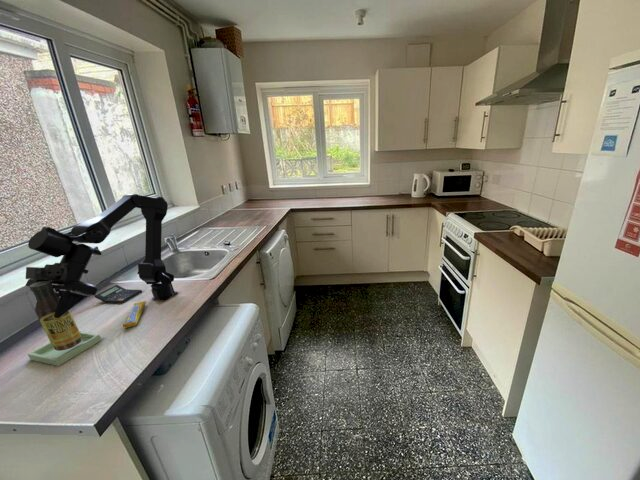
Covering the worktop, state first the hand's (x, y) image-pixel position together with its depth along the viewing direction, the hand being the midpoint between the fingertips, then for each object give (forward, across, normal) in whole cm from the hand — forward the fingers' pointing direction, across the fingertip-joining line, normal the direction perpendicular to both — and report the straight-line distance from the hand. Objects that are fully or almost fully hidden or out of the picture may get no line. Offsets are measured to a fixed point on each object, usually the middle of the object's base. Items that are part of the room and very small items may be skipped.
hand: (47, 316), depth 78 cm
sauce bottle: (+7, 0, +9) cm, 11 cm away
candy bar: (-5, +1, +24) cm, 25 cm away
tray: (+8, -3, +11) cm, 14 cm away
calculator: (-12, -19, +32) cm, 39 cm away
